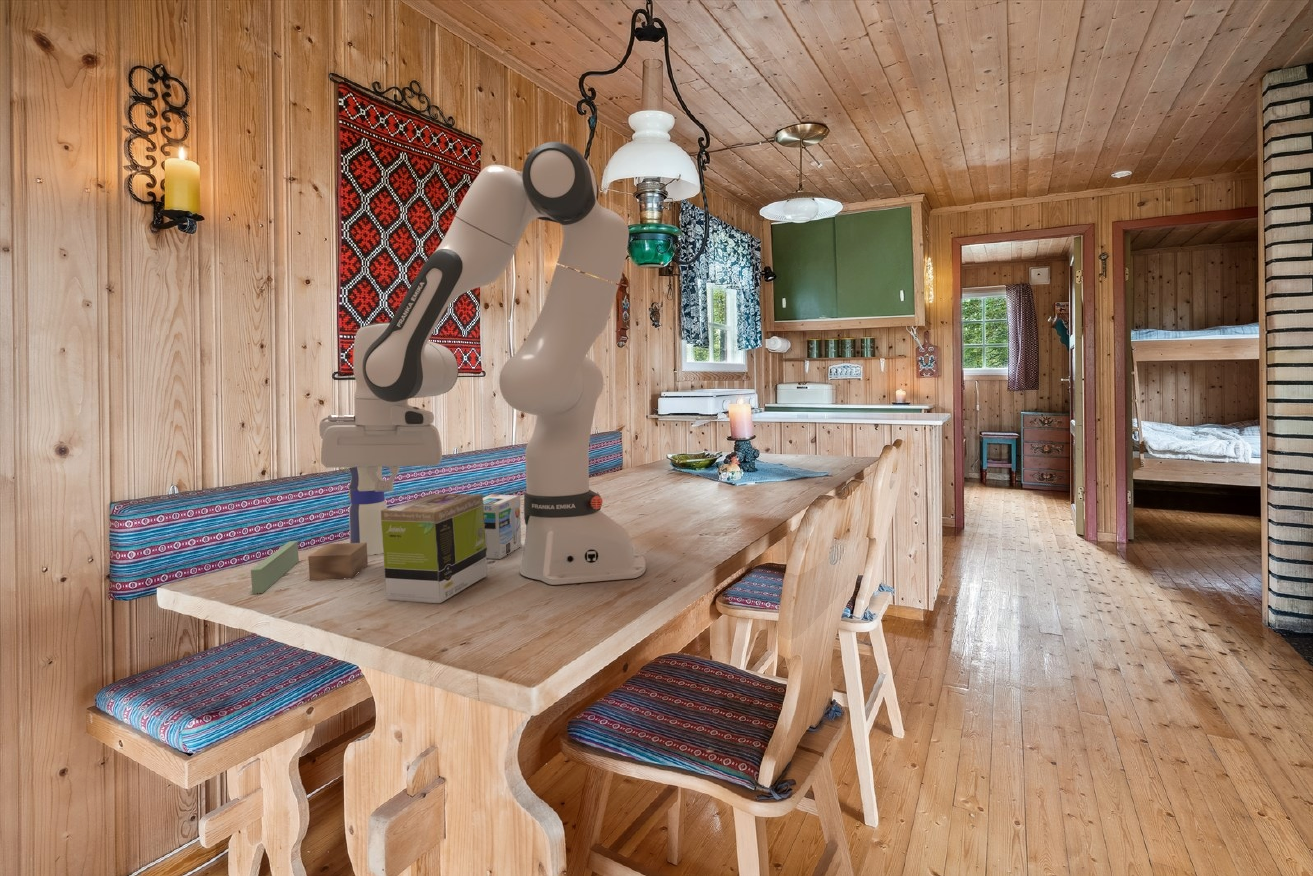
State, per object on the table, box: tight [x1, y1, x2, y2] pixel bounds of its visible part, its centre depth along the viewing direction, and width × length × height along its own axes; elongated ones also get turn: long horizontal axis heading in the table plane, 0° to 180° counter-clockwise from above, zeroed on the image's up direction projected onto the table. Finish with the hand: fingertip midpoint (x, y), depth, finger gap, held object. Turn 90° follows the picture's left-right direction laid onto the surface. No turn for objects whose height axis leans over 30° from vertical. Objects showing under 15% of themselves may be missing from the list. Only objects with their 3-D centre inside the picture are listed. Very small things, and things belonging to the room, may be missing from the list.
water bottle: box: [343, 467, 388, 556], centre depth 137 cm, size 8×9×25 cm
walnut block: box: [307, 542, 369, 581], centre depth 123 cm, size 7×9×4 cm
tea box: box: [381, 493, 488, 604], centre depth 112 cm, size 15×10×15 cm, turn 165°
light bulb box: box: [483, 494, 522, 560], centre depth 136 cm, size 11×7×11 cm, turn 168°
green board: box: [250, 540, 300, 595], centre depth 121 cm, size 2×20×4 cm, turn 12°
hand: (384, 491), depth 124 cm, fingers closed
